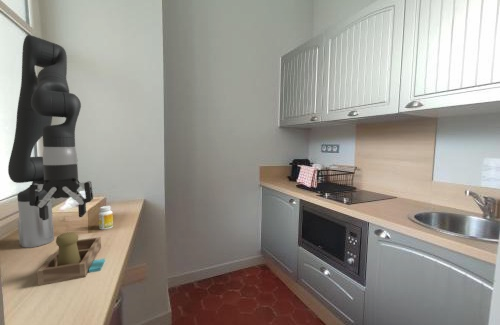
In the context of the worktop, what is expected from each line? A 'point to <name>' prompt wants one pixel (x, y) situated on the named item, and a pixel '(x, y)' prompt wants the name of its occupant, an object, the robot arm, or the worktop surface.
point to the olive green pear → (68, 249)
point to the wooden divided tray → (72, 271)
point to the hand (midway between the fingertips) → (64, 217)
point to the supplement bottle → (105, 218)
